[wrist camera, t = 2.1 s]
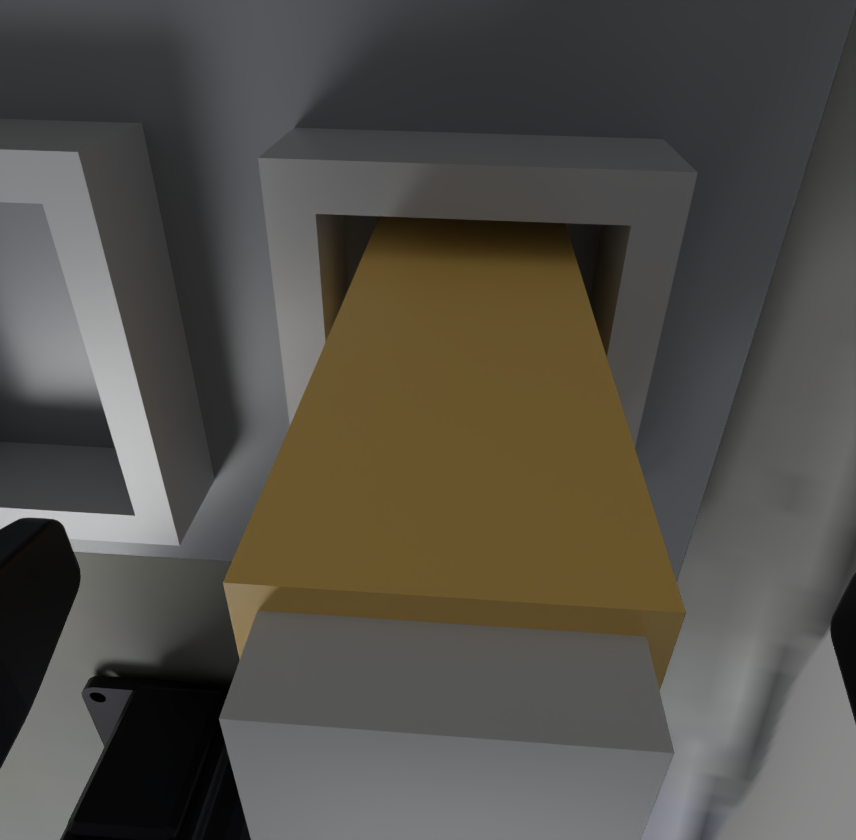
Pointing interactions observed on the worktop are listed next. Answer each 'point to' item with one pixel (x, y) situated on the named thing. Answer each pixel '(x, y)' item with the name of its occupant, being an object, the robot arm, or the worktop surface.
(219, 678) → the worktop surface
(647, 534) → the block
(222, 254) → the board
